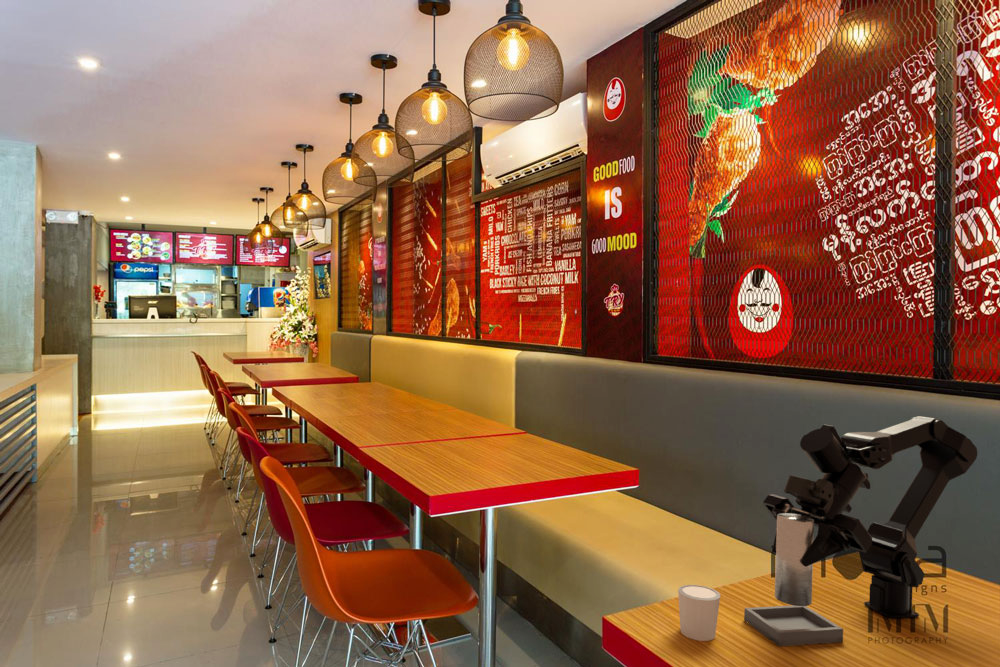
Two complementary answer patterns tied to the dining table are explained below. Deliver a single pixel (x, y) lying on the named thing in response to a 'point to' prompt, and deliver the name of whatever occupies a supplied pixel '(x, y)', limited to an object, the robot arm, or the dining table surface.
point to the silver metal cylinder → (793, 559)
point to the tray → (793, 625)
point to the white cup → (698, 611)
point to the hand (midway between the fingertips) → (788, 558)
